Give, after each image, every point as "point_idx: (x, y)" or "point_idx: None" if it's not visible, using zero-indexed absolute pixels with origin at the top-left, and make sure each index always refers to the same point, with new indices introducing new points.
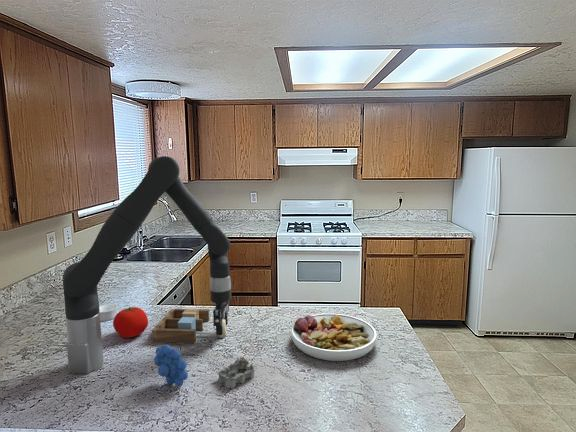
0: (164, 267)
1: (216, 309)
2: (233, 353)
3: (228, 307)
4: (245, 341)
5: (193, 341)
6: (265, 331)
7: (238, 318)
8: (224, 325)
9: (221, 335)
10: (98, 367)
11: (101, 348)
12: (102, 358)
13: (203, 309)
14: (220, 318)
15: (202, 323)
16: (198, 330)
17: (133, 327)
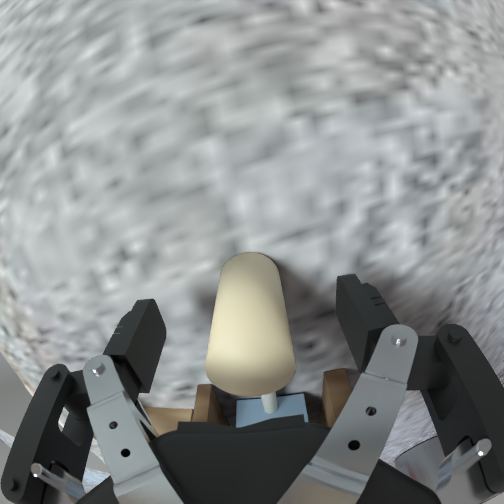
0: (9, 443)
1: (495, 496)
2: (452, 133)
3: (46, 396)
4: (293, 76)
5: (345, 378)
6: (104, 10)
7: (12, 261)
8: (267, 311)
9: (279, 281)
10: (435, 438)
11: (433, 468)
12: (426, 451)
13: (93, 436)
14: (488, 386)
15: (199, 416)
16: (215, 398)
17: None
